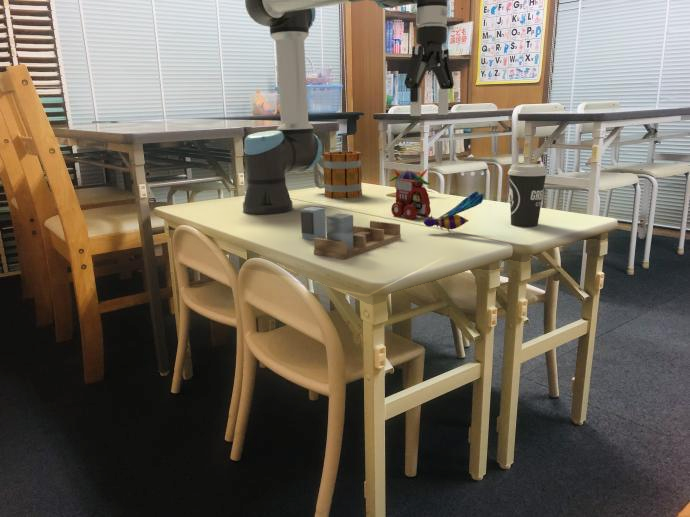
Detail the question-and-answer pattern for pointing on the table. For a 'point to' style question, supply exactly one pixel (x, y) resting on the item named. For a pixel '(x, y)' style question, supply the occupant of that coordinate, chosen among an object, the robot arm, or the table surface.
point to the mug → (341, 174)
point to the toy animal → (408, 178)
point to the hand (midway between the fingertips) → (429, 115)
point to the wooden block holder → (353, 237)
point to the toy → (451, 217)
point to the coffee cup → (526, 193)
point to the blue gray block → (313, 223)
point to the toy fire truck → (411, 199)
